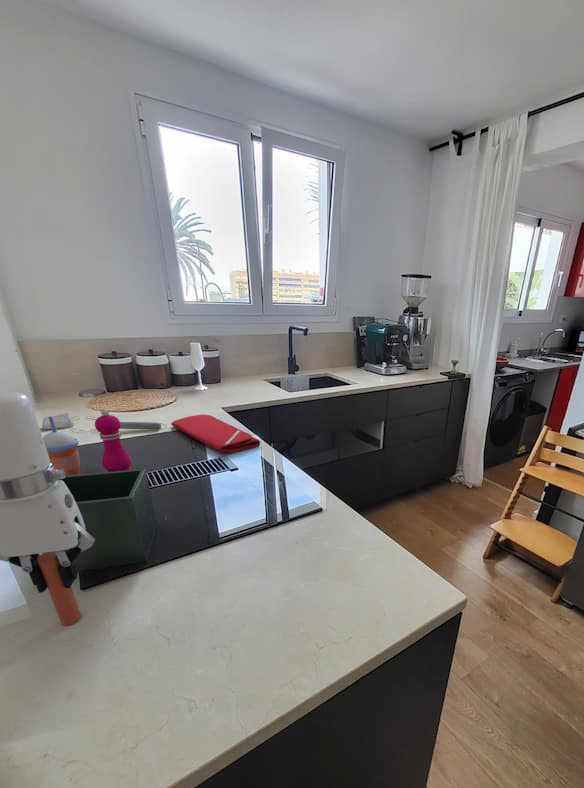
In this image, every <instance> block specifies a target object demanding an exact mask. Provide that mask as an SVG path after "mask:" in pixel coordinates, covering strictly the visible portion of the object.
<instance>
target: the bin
mask: <svg viewBox="0 0 584 788" xmlns="http://www.w3.org/2000/svg"><path fill="white" fill-rule="evenodd" d="M59 480H62V481H64V483H65V484H66V486H67V487H68V489H69V490H70V492H71V494H72V496H73V498H74V500H75V502H76V504H77V506H78V508H79V510H80V513H81V515H82V518H83V521H84V524H85V528H86V531H87V532H88V533H89V534H90V535H91V536H92V537H93V538H95V542H94V544H93V546H92V547H90V548H88V549H86V550H85V551H82V552H80V554H79V555H78V556H77V557H76V558H75V559H74V561H75V564H76V567H77V570H78V573H82V572H87V571H95V570H102V569H108V568H115V567H116V568H117V567H121V566H122V567H123V566H128V565H135V564H143V563H147V562H148V560H149V557H150V553H151V550H152V547H153V543H154V539H155V536H156V533H157V529H158V523H157V518H156V517H157V516H156V512H155V507H154V503H153V498H152V494H151V488H150V485H149V480H148V475H147V470H146V468H138V469H132V470H126V471H115V472H108V471H106V472H105V471H104V472H93V473H83V474H82V473H81V475H70V476H65V478H64V479H59ZM78 543H79V541H78Z"/></svg>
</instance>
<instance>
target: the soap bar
mask: <svg viewBox="0 0 584 788" xmlns="http://www.w3.org/2000/svg"><path fill="white" fill-rule="evenodd" d="M48 417H53V420H54V424H55V427H56V430H57V429H64V428H68V427H69V428H71V427H72V428H73V427H74V423H73V419H72V418H71V417H70V413H68V412H67V413H62V414H57V415H49V416H45V417H44V418H43V419H42V423H41V425H42V426H41V428H42V429H43V430H52V428H51V424H50V421H49V418H48ZM69 419H70V420H69ZM70 421H71V422H70ZM68 422H70V423H69V424H71V423H72V424H73V425H70V426H71V427H70V426H68ZM67 426H68V427H67Z"/></svg>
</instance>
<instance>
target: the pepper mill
mask: <svg viewBox="0 0 584 788" xmlns="http://www.w3.org/2000/svg"><path fill="white" fill-rule="evenodd" d="M100 414H101V415H100V416H98V417H97V418H95V419H96V420H94V428H95V429H96V430H98V431H97V432H98V433H99V436H100V437H99V438H100V440H102V442H103V447H104V448H103V455H102V460H101V463H102V468H103V469H104V470H106V472H115V471H126V470H133V469H132V468H131V465H132V464H133V463H132V457H131V456H130V453H128V452H127V451H126V449H125V447H124V445H123V444H122V441H121V436H122V433H121V429H120V427H121V424H120V422H121V421H120V419H119V418H118V416H115V415H114V414H113V415H112V414H110V412H109V410H107V409H103V410H101V412H100Z"/></svg>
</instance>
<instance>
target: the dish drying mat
mask: <svg viewBox="0 0 584 788" xmlns="http://www.w3.org/2000/svg"><path fill="white" fill-rule="evenodd" d="M170 425H171V426H172V427H174V428H176V429H178V430H179V431H181V432H182V433H184V434H186V435H187V436H189V437H191V438H193V439H195V440H197V441H199V442H200V443H202V444H204V445H206V446H208V447H210V448H212V449H214V450H217V451H219V452H222V453H227V454H228V453H229V454H230V453H236V452H240V451H246V450H249V449H253V447H254V448H257V447H256V446H258V447H260V445H261V440H259V439H258V438H256V437H254V436H252V434H250V433H248V432H246V431H243V430H241V429H239V428H237V427H235V426H233V425H231V424H229V423H227V422H225V421H222V420H220V419H218V418H217V417H215V416H212V415H210V414H195V415H191V416H185V417H182V418H178V419H175V420H173V421H172V422H171V423H170Z"/></svg>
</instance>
